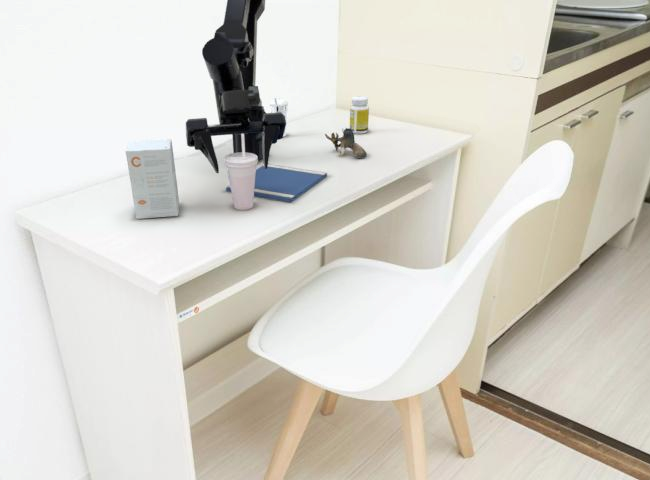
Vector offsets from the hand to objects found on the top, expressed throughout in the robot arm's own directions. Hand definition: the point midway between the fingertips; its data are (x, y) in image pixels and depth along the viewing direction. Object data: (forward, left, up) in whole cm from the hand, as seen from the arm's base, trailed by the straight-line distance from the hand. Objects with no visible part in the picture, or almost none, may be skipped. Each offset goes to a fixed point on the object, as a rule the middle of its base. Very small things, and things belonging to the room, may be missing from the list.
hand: (242, 170), depth 121 cm
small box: (-14, -9, -8) cm, 18 cm away
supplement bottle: (0, +58, -8) cm, 59 cm away
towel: (-1, +15, -7) cm, 17 cm away
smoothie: (-1, +1, -8) cm, 8 cm away
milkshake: (-17, +46, -8) cm, 50 cm away
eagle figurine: (+5, +39, -8) cm, 40 cm away
